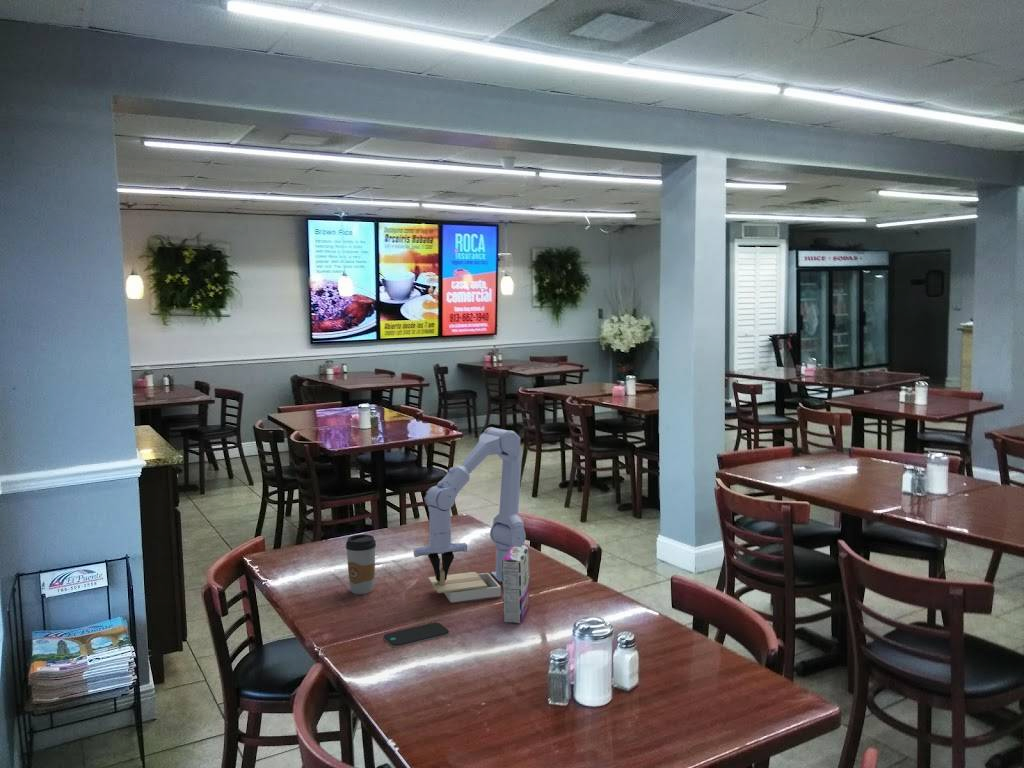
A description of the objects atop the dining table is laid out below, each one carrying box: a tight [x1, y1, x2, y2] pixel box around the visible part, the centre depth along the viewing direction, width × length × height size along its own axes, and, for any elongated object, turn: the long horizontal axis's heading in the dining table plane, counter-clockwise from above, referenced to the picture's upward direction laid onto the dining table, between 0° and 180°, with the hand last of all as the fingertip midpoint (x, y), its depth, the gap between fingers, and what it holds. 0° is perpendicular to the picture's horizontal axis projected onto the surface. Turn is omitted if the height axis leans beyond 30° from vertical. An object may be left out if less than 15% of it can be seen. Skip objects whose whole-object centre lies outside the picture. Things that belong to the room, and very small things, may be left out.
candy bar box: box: [502, 546, 530, 624], centre depth 201 cm, size 11×5×16 cm, turn 168°
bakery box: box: [443, 572, 502, 605], centre depth 218 cm, size 14×12×3 cm
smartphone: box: [383, 622, 450, 648], centre depth 190 cm, size 8×1×15 cm
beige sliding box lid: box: [428, 566, 487, 594], centre depth 216 cm, size 14×12×4 cm
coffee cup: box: [345, 534, 377, 595], centre depth 220 cm, size 8×8×15 cm
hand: (441, 579), depth 215 cm, fingers closed on beige sliding box lid
